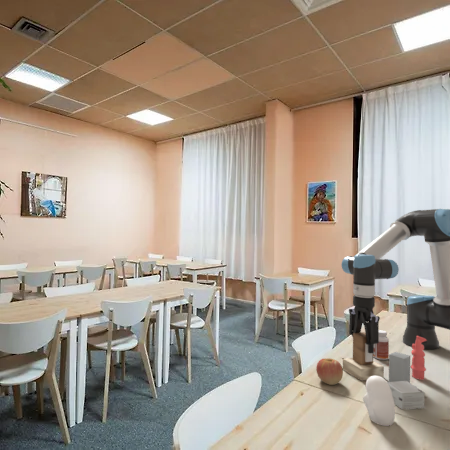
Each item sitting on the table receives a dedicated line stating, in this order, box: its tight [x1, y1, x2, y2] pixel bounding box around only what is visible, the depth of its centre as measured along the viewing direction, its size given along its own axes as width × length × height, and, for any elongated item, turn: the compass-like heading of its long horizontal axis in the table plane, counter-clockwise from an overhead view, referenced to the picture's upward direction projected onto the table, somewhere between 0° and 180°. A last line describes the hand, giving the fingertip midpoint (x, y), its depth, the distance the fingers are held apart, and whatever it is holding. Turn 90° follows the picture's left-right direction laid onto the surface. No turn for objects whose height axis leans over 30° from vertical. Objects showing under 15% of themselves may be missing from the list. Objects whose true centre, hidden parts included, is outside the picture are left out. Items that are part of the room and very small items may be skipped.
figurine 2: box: [410, 336, 427, 381], centre depth 123 cm, size 5×5×15 cm
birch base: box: [342, 357, 385, 381], centre depth 125 cm, size 10×10×4 cm
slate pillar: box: [388, 351, 411, 383], centre depth 116 cm, size 5×5×10 cm
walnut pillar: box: [352, 331, 374, 365], centre depth 125 cm, size 5×5×10 cm
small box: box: [387, 381, 425, 410], centre depth 103 cm, size 8×8×5 cm
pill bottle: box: [373, 329, 390, 361], centre depth 141 cm, size 6×6×11 cm
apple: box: [316, 358, 344, 386], centre depth 116 cm, size 9×9×8 cm
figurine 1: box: [362, 376, 396, 427], centre depth 93 cm, size 7×8×12 cm
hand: (362, 358), depth 125 cm, fingers open, 5 cm apart
